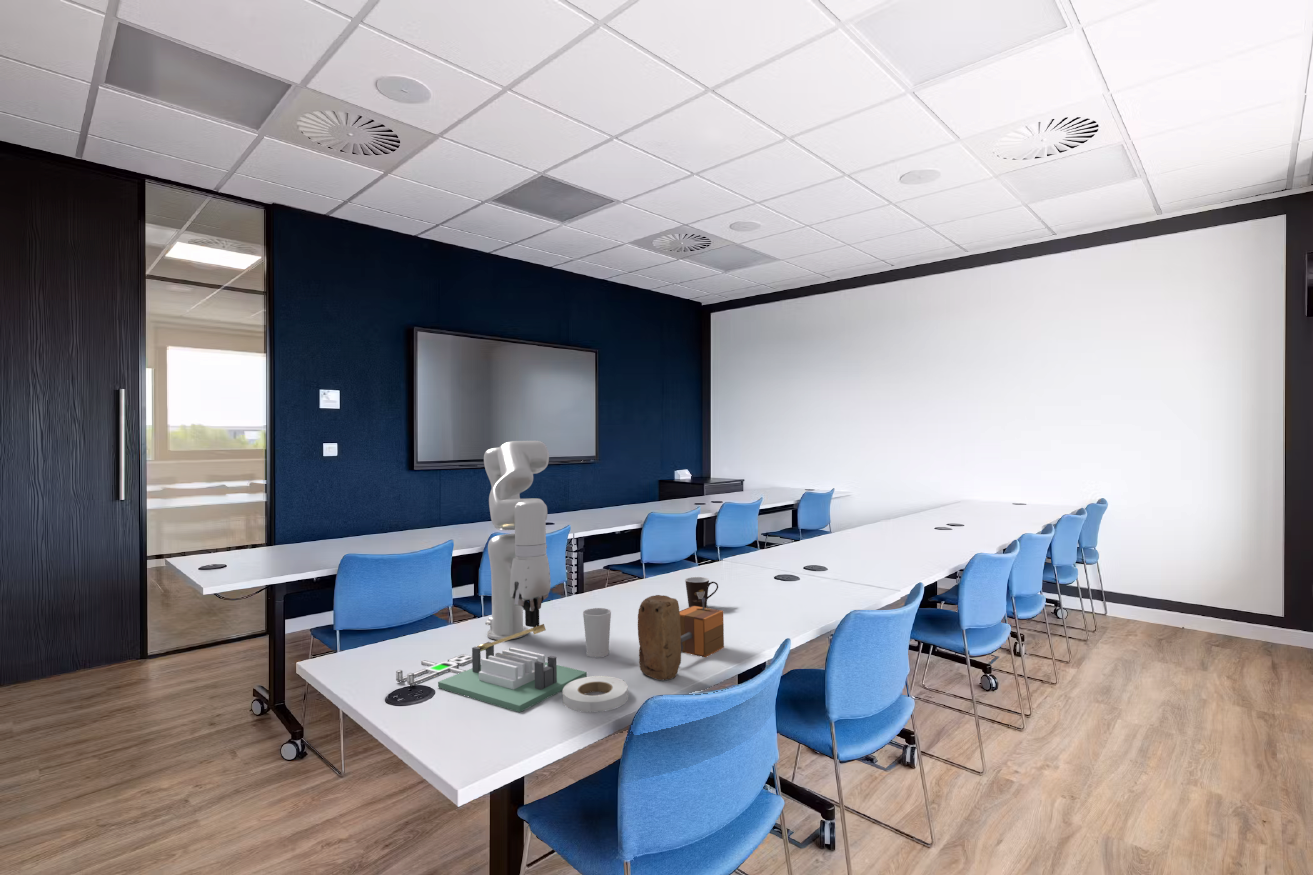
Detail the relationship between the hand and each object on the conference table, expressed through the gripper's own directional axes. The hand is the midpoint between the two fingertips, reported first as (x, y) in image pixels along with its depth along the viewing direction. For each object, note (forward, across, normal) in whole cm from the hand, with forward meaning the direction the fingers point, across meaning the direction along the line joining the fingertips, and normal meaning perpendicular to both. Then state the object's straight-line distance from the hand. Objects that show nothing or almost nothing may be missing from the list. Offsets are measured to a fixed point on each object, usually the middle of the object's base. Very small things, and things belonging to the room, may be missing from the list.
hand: (532, 625), depth 157 cm
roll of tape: (+16, -4, +16) cm, 24 cm away
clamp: (+16, -42, +21) cm, 49 cm away
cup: (+15, -29, -2) cm, 33 cm away
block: (+16, -24, +22) cm, 36 cm away
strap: (+5, -1, -8) cm, 10 cm away
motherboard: (+15, -1, -8) cm, 17 cm away
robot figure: (+15, +3, -32) cm, 35 cm away
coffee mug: (+14, -87, 0) cm, 88 cm away
